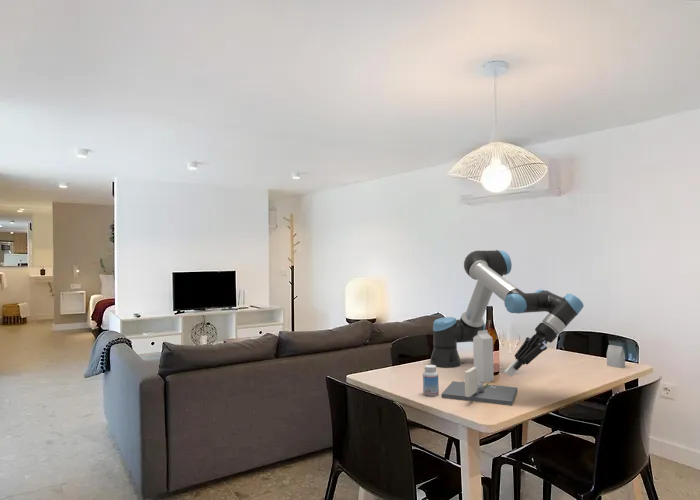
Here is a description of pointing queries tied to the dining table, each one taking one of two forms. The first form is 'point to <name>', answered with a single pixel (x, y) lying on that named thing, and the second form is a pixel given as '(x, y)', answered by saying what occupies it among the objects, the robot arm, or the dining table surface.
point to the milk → (483, 356)
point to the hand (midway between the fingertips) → (507, 374)
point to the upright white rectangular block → (473, 383)
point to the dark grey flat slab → (482, 393)
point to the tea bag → (615, 356)
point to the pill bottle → (430, 381)
